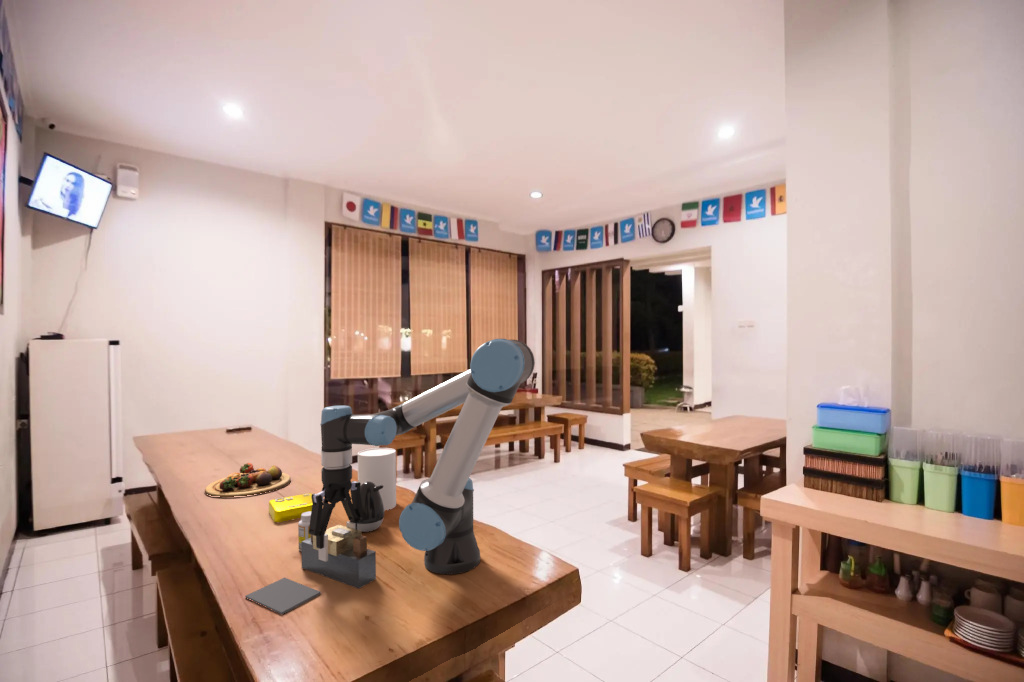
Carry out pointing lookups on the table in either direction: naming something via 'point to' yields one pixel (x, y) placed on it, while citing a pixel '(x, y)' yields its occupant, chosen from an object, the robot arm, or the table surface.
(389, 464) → the canister
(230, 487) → the wooden plate with food
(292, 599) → the rubber mat
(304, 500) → the element tile
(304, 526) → the supplement bottle
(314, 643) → the table surface
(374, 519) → the pump dispenser
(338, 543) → the lever cap
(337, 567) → the plane body
